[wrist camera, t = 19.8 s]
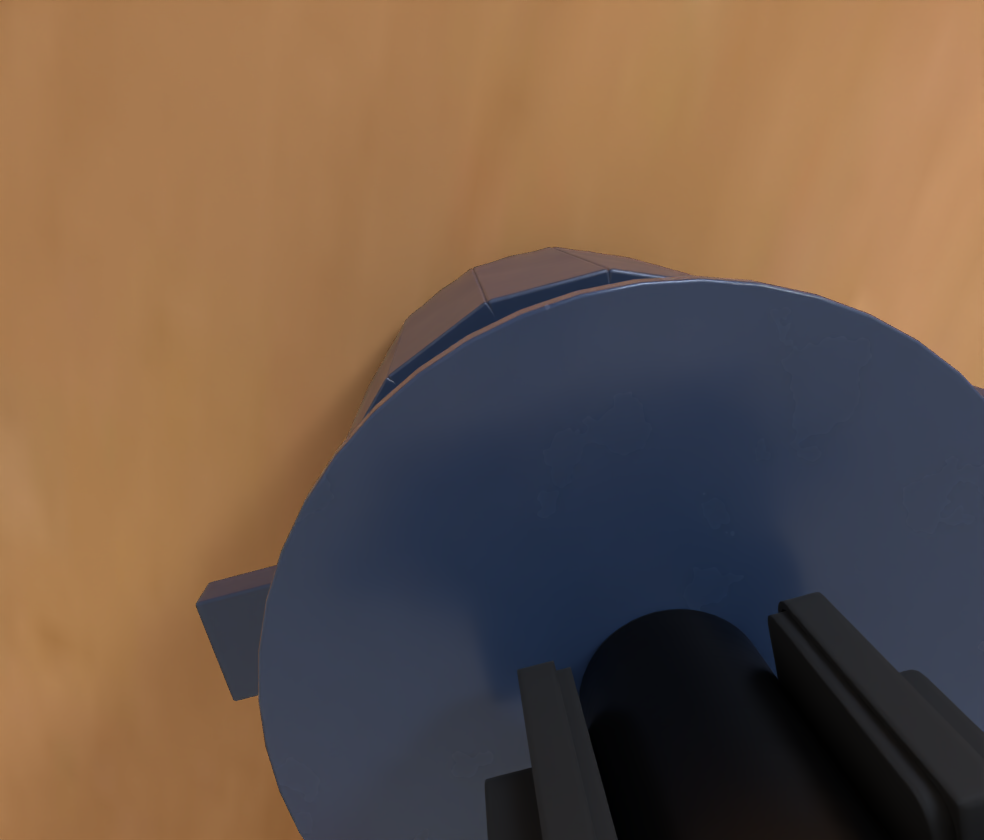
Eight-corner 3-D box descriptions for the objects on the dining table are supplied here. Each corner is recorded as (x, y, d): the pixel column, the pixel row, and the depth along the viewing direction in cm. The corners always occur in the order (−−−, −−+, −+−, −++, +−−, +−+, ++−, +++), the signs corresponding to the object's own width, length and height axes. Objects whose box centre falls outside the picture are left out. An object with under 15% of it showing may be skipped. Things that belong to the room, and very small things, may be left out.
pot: (222, 332, 22) (93, 404, 14) (799, 178, 22) (1008, 162, 14) (343, 673, 25) (294, 895, 17) (851, 541, 25) (1048, 702, 17)
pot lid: (158, 394, 11) (-209, 628, 5) (984, 175, 11) (1689, 128, 5) (396, 1019, 15) (356, 1648, 8) (1042, 854, 14) (1515, 1363, 8)
